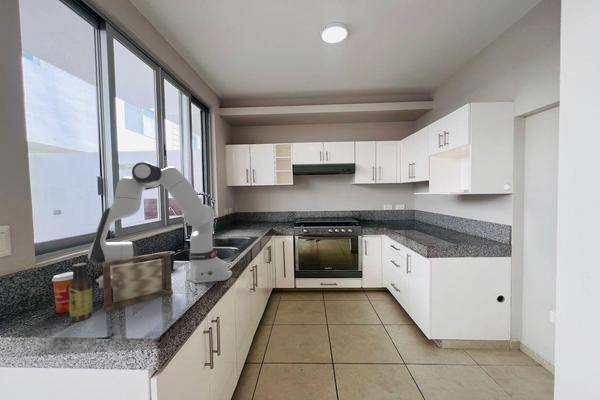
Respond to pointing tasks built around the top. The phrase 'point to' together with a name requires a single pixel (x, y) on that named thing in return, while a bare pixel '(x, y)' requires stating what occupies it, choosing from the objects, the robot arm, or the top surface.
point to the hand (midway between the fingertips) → (131, 280)
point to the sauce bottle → (80, 294)
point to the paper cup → (62, 291)
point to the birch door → (138, 279)
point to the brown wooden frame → (120, 304)
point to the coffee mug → (170, 259)
